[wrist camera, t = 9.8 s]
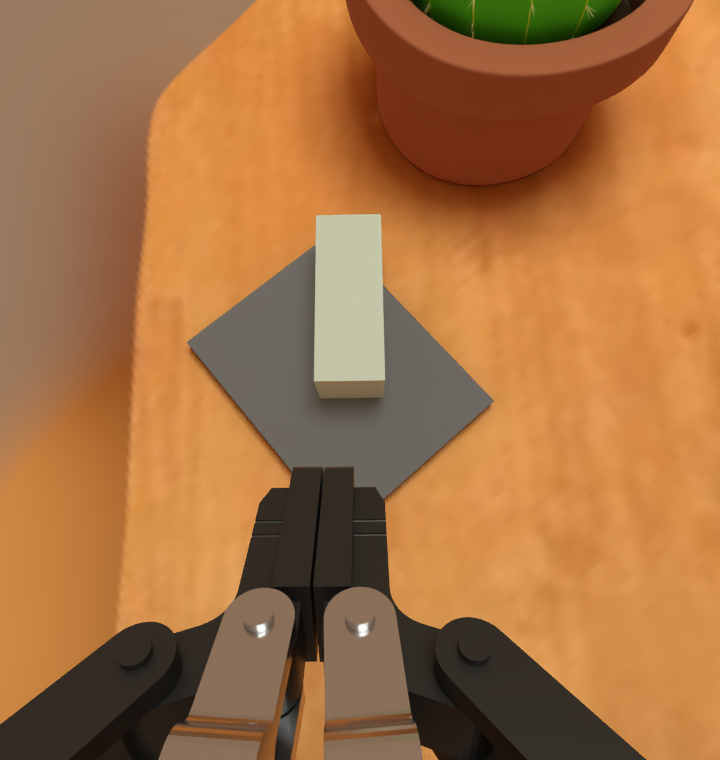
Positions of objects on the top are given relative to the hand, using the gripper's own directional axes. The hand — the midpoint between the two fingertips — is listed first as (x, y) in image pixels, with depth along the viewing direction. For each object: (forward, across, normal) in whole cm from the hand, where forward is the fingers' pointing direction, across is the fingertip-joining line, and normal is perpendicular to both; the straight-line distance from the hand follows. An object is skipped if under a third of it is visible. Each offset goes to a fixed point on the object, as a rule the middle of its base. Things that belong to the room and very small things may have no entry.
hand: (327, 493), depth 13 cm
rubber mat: (+24, -1, -10) cm, 26 cm away
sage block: (+20, 0, -9) cm, 22 cm away
